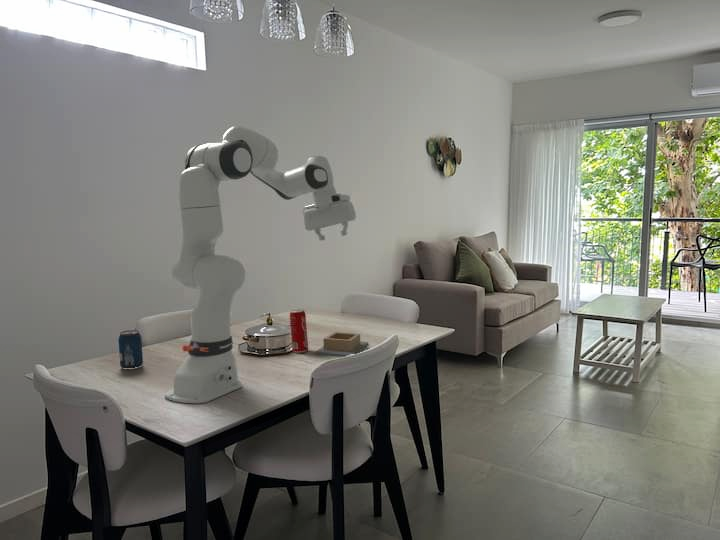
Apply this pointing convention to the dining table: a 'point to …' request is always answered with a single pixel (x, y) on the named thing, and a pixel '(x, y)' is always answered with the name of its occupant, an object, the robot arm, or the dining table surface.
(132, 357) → the soda can
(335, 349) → the can stand
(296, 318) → the beverage can
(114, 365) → the dining table surface
